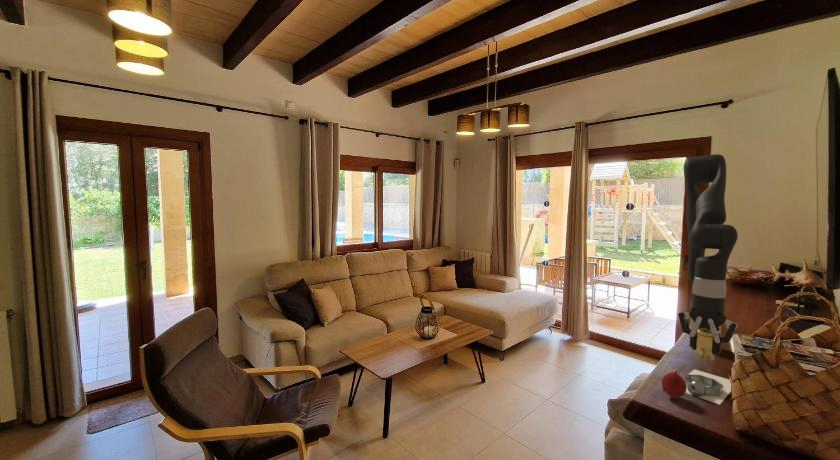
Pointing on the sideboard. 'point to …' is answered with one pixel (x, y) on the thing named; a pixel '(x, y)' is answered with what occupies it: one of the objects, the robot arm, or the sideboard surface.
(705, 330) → the knob
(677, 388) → the onion
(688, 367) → the sideboard surface
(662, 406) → the sideboard surface
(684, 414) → the sideboard surface
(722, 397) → the board
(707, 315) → the robot arm
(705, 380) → the grey octagonal ring
